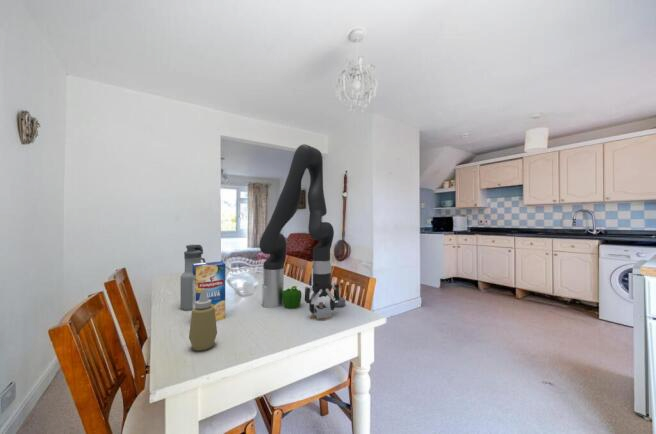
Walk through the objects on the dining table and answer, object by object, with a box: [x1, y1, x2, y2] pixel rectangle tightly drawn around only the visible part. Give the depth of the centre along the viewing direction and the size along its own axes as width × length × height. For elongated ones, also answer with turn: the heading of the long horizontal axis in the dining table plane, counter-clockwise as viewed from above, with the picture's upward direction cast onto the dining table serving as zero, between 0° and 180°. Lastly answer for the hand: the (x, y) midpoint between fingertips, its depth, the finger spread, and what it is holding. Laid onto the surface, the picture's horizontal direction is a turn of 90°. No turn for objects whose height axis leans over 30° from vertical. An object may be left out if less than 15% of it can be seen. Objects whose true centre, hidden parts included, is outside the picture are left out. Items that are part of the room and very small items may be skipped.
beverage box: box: [191, 261, 226, 321], centre depth 106 cm, size 7×11×22 cm, turn 127°
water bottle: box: [180, 244, 206, 311], centre depth 120 cm, size 10×10×28 cm
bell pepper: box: [282, 285, 302, 310], centre depth 119 cm, size 8×8×10 cm
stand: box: [309, 301, 333, 322], centre depth 108 cm, size 9×9×6 cm
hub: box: [329, 288, 346, 309], centre depth 121 cm, size 10×10×8 cm
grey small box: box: [311, 303, 332, 321], centre depth 108 cm, size 6×6×4 cm
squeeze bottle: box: [188, 289, 218, 352], centre depth 84 cm, size 8×8×18 cm
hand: (322, 311), depth 108 cm, fingers open, 8 cm apart
